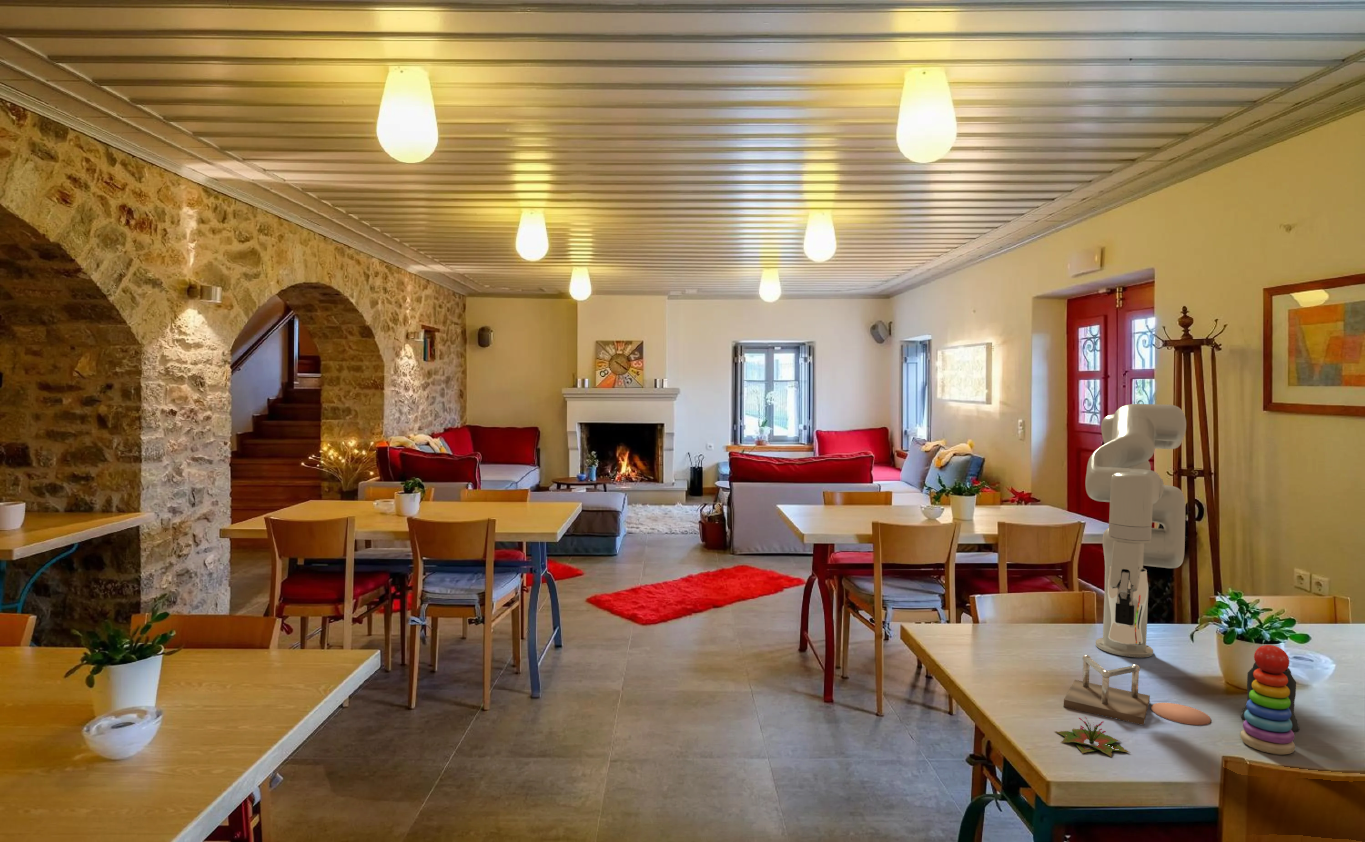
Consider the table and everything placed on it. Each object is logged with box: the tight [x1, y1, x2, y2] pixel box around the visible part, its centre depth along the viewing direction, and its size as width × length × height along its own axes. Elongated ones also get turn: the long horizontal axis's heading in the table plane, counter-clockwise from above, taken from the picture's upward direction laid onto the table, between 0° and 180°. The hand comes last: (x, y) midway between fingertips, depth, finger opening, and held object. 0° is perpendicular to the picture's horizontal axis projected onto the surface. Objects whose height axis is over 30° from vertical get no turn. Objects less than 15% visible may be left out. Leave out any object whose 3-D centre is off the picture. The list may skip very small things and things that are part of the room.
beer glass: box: [1108, 566, 1148, 645], centre depth 154 cm, size 7×7×15 cm
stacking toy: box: [1239, 644, 1296, 756], centre depth 137 cm, size 8×8×19 cm
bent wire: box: [1082, 654, 1141, 705], centre depth 155 cm, size 10×11×7 cm
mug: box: [1240, 661, 1300, 734], centre depth 149 cm, size 12×9×11 cm
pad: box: [1150, 702, 1211, 726], centre depth 151 cm, size 10×10×1 cm
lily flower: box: [1054, 716, 1131, 758], centre depth 137 cm, size 12×12×5 cm
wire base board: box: [1063, 679, 1151, 726], centre depth 155 cm, size 14×14×2 cm
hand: (1126, 618), depth 154 cm, fingers closed on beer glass, 6 cm apart
